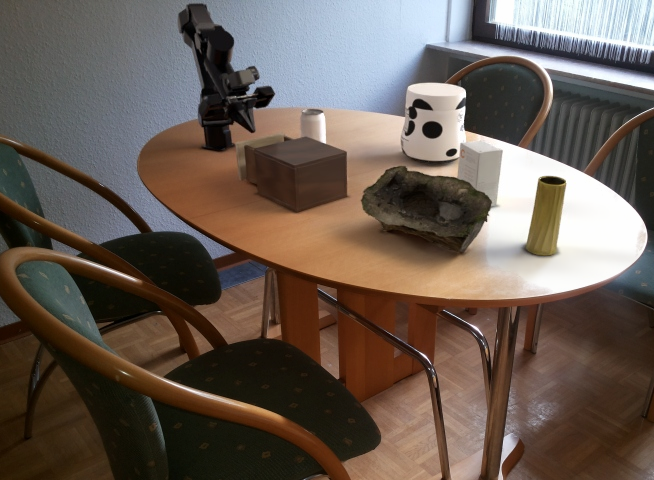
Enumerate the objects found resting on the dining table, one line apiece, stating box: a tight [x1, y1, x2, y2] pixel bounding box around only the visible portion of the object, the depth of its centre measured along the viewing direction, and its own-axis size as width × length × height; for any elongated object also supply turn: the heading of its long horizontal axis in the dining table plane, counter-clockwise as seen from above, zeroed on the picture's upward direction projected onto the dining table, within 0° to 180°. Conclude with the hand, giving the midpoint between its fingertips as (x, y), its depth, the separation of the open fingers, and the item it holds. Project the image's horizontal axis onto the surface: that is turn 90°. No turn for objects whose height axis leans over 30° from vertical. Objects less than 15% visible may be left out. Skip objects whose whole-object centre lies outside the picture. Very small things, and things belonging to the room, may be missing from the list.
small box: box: [456, 139, 504, 207], centre depth 144 cm, size 8×6×13 cm
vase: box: [525, 175, 568, 256], centre depth 124 cm, size 6×6×14 cm
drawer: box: [234, 132, 294, 186], centre depth 152 cm, size 17×13×9 cm
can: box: [299, 108, 327, 144], centre depth 168 cm, size 6×6×12 cm
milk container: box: [400, 82, 467, 164], centre depth 169 cm, size 17×17×18 cm
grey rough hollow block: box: [360, 165, 492, 254], centre depth 127 cm, size 28×13×15 cm
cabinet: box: [254, 137, 348, 213], centre depth 145 cm, size 15×15×11 cm
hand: (253, 132), depth 153 cm, fingers closed
